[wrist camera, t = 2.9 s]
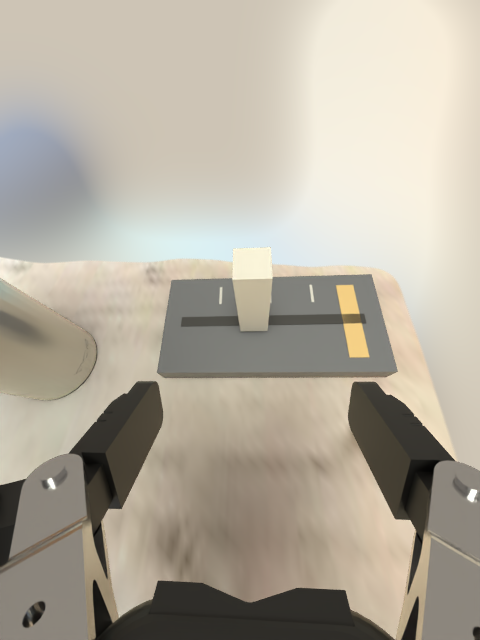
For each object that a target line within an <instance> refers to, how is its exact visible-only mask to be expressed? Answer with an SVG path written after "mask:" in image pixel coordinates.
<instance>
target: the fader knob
mask: <svg viewBox="0 0 480 640" xmlns="http://www.w3.org/2000/svg"><path fill="white" fill-rule="evenodd" d="M272 280H273V277H272V260H271V247H269V248H268V247H267V248H240V249H233V275H232V281H233V287H234V293H235V300H236V306H237V312H238V319H239V325H240V331H268V320H269V310H270V300H271V290H272Z"/></svg>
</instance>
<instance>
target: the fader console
mask: <svg viewBox="0 0 480 640" xmlns="http://www.w3.org/2000/svg"><path fill="white" fill-rule="evenodd" d="M396 372H398V371H397V367H396V363H395V360H394V356H393V352H392V349H391V345H390V341H389V337H388V334H387V330H386V326H385V323H384V319H383V315H382V312H381V308H380V304H379V301H378V297H377V293H376V289H375V286H374V282H373V278H372V275H371V274H369V275H334V276H299V277H273V280H272V290H271V300H270V310H269V320H268V331H240V325H239V319H238V312H237V306H236V300H235V293H234V287H233V281H232V278H229V279H195V280H172V281H171V288H170V294H169V300H168V307H167V313H166V319H165V326H164V332H163V338H162V345H161V351H160V357H159V363H158V370H157V373H158V374H160V375H161V376H163V377H165V378H242V377H387V376H389V375H391V374H394V373H396Z"/></svg>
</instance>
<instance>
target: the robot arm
mask: <svg viewBox="0 0 480 640" xmlns="http://www.w3.org/2000/svg"><path fill="white" fill-rule="evenodd" d="M96 355H97V350H96V344H95V341H94V339H93V338H92V336H91V335H90V334H89V333H88V332H87V331H85V330H83V329H82V328H80V327H79V326H77V325H75V324H74V323H72V322H71V321H69V320H67V319H66V318H64V317H63V316H61V315H59V314H58V313H56V312H55V311H53V310H51V309H50V308H48V307H46V306H45V305H43V304H42V303H40V302H38V301H37V300H35V299H33V298H32V297H30V296H28V295H27V294H25V293H24V292H22V291H20V290H19V289H17V288H15V287H14V286H12V285H11V284H9V283H7V282H6V281H4V280H2V279H1V278H0V393H4V394H9V395H14V396H20V397H26V398H32V399H38V400H54V399H59V398H61V397H63V396H66V395H68V394H69V393H71V392H73V391H74V390H75V389H77V388H78V387H79V386H80V385H81V384H82V383H83V382H84V381H85V380H86V378H87V377H88V376H89V374H90V372H91V371H92V369H93V366H94V364H95V361H96ZM348 420H349V425H350V428H351V431H352V433H353V435H354V437H355V439H356V441H357V443H358V445H359V447H360V449H361V451H362V453H363V455H364V457H365V459H366V461H367V463H368V465H369V467H370V469H371V471H372V473H373V475H374V477H375V479H376V481H377V483H378V485H379V487H380V489H381V491H382V493H383V495H384V497H385V499H386V501H387V503H388V505H389V507H390V509H391V512H392V514H393V516H394V518H395V519H402V520H411V522H412V524H413V525H414V527H415V529H416V530H415V533H414V537H413V543H412V550H411V556H410V563H409V569H408V576H407V582H406V589H405V595H404V602H403V607H402V612H401V616H400V620H399V625H398V629H397V634H396V640H480V471H479V470H477V469H475V468H473V467H471V466H468V465H466V464H463V463H460V462H456V461H455V460H454V459H453V458H452V457H451V456H450V454H449V453H448V452H447V451H446V450H445V449H444V448H443V447H442V445H441V444H440V443H439V442H438V441H437V440H436V439H435V438H434V436H433V435H432V434H431V433H430V432H429V431H428V430H427V429H426V427H425V426H422V423H421V422H420V421H419V420H418V418H417V417H414V414H413V413H412V412H411V410H410V409H409V408H408V407H407V406H406V405H405V404H404V403H403V402H401V401H400V400H398V399H396V398H395V397H393V396H392V395H386V394H385V393H384V391H383V390H382V389H381V388H380V387H379V385H378V384H377V383H376V382H354V383H353V385H352V390H351V397H350V404H349V412H348ZM162 421H163V408H162V403H161V397H160V391H159V386H158V383H157V382H156V381H138V382H136V384H135V385H134V386H133V387H132V389H131V390H130V391H129V392H128V394H123V395H121V396H120V397H118V398H117V399H115V400H114V401H113V402H112V403H111V404H110V405H109V406H108V407H107V408H106V410H105V411H104V414H101V416H100V417H99V418H98V419H97V422H95V423H94V424H93V425H92V426H91V427H90V429H89V430H88V431H87V432H86V433H85V435H84V436H83V437H82V438H81V439H80V440H79V442H78V443H77V444H76V445H75V446H74V448H73V449H72V450H71V451H70V452H69V454H64V455H60V456H57V457H55V458H52V459H50V460H48V461H47V462H45V463H43V464H42V465H40V466H39V467H38V468H36V469H35V470H34V471H33V472H32V473H31V474H30V475H29V476H28V477H27V479H24V480H20V481H16V482H12V483H8V484H4V485H0V640H395V639H393V638H392V637H391V636H390V635H389V634H388V633H387V632H385V631H384V630H383V629H382V628H380V627H379V626H378V625H376V624H375V623H373V622H372V621H371V620H369V619H367V618H365V617H364V616H362V615H360V614H359V613H357V612H354V611H352V610H350V607H349V603H348V599H347V595H346V591H345V590H329V589H310V588H296V589H293V590H289V591H286V592H283V593H280V594H277V595H274V596H271V597H268V598H265V599H262V600H259V601H256V602H251V603H249V602H244V601H242V600H240V599H237V598H235V597H233V596H231V595H228V594H226V593H224V592H222V591H219V590H217V589H215V588H213V587H210V586H208V585H206V584H204V583H193V582H173V581H158V583H157V586H156V590H155V593H154V597H153V599H152V600H149V601H146V602H144V603H142V604H140V605H138V606H136V607H134V608H133V609H131V610H130V611H128V612H127V613H125V614H123V615H122V616H121V617H120V618H119V617H118V612H117V607H116V603H115V599H114V594H113V589H112V583H111V576H110V568H109V560H108V553H107V545H106V538H105V530H104V524H103V520H102V519H103V517H104V515H105V513H106V512H107V510H108V508H109V509H122V507H123V505H124V503H125V501H126V499H127V497H128V495H129V493H130V490H131V488H132V486H133V484H134V482H135V480H136V478H137V476H138V474H139V472H140V470H141V468H142V465H143V463H144V461H145V459H146V457H147V455H148V453H149V451H150V449H151V447H152V445H153V443H154V440H155V438H156V436H157V434H158V432H159V430H160V428H161V425H162Z"/></svg>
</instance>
